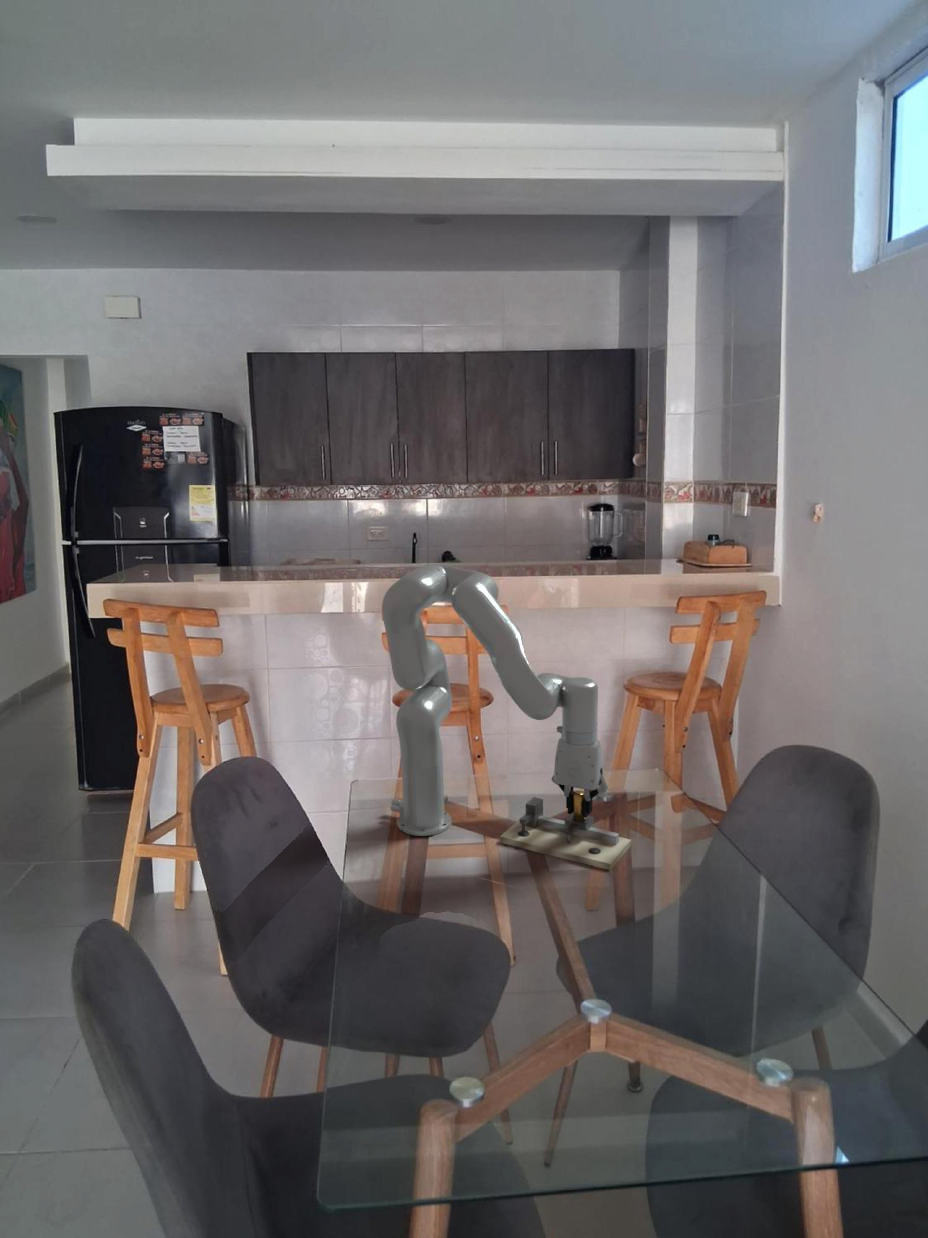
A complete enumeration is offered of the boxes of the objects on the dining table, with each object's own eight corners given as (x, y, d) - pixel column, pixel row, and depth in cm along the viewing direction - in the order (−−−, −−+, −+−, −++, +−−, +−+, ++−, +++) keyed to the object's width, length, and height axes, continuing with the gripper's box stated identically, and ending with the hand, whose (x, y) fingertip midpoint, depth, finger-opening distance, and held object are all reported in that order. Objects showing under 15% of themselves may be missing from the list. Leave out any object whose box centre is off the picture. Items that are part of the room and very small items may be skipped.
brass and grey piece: (557, 840, 206) (557, 801, 204) (572, 825, 213) (572, 787, 210) (578, 845, 204) (578, 806, 201) (593, 830, 210) (593, 791, 208)
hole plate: (500, 842, 210) (499, 813, 208) (524, 820, 220) (524, 793, 218) (610, 870, 197) (610, 839, 196) (631, 846, 207) (631, 816, 206)
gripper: (537, 734, 205) (538, 812, 210) (608, 747, 197) (607, 828, 201) (552, 723, 211) (552, 799, 216) (621, 735, 203) (620, 814, 208)
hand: (579, 812), depth 209 cm, fingers closed on brass and grey piece, 2 cm apart
